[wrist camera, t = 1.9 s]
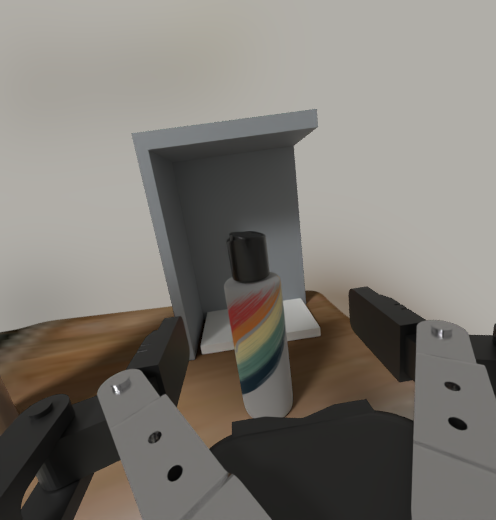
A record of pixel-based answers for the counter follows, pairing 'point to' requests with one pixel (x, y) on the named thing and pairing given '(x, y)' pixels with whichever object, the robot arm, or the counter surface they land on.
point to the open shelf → (223, 204)
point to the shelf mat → (220, 333)
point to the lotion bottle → (258, 327)
